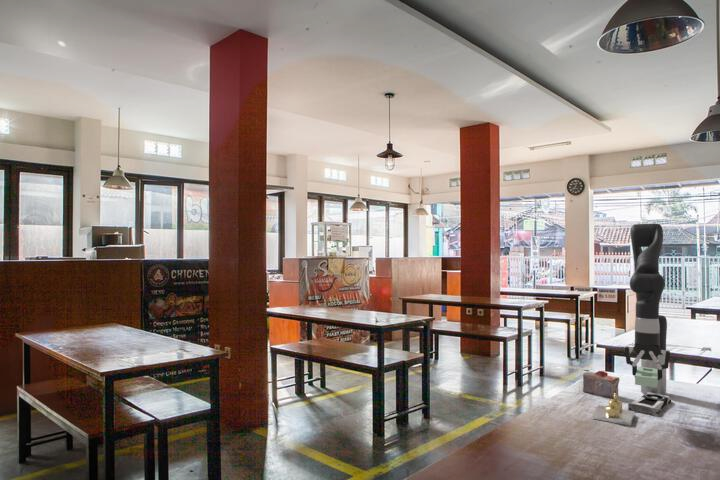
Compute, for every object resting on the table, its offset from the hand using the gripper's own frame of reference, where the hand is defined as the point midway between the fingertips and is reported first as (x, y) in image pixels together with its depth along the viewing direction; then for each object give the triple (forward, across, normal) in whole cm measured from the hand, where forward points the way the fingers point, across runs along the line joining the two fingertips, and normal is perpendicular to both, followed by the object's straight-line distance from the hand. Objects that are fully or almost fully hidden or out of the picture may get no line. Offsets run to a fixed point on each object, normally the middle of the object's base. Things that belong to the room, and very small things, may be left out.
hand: (647, 378), depth 173 cm
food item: (+16, +18, -29) cm, 38 cm away
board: (+1, 0, 0) cm, 1 cm away
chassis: (+16, +10, 0) cm, 19 cm away
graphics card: (+16, -1, -23) cm, 28 cm away
